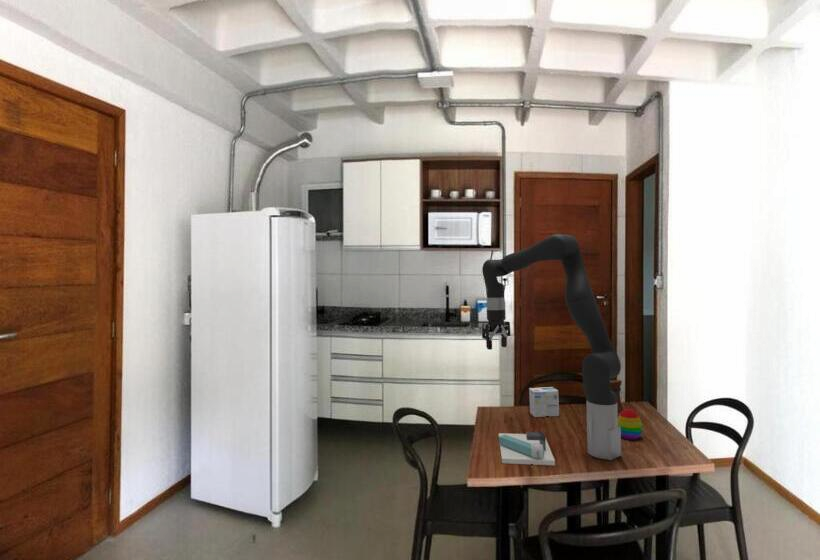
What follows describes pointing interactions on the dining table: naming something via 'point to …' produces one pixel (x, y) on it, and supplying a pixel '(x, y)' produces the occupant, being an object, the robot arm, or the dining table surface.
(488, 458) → the dining table surface
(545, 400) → the light bulb box
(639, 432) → the decorative egg
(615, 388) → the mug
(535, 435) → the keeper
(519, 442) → the teal long piece
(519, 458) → the board
